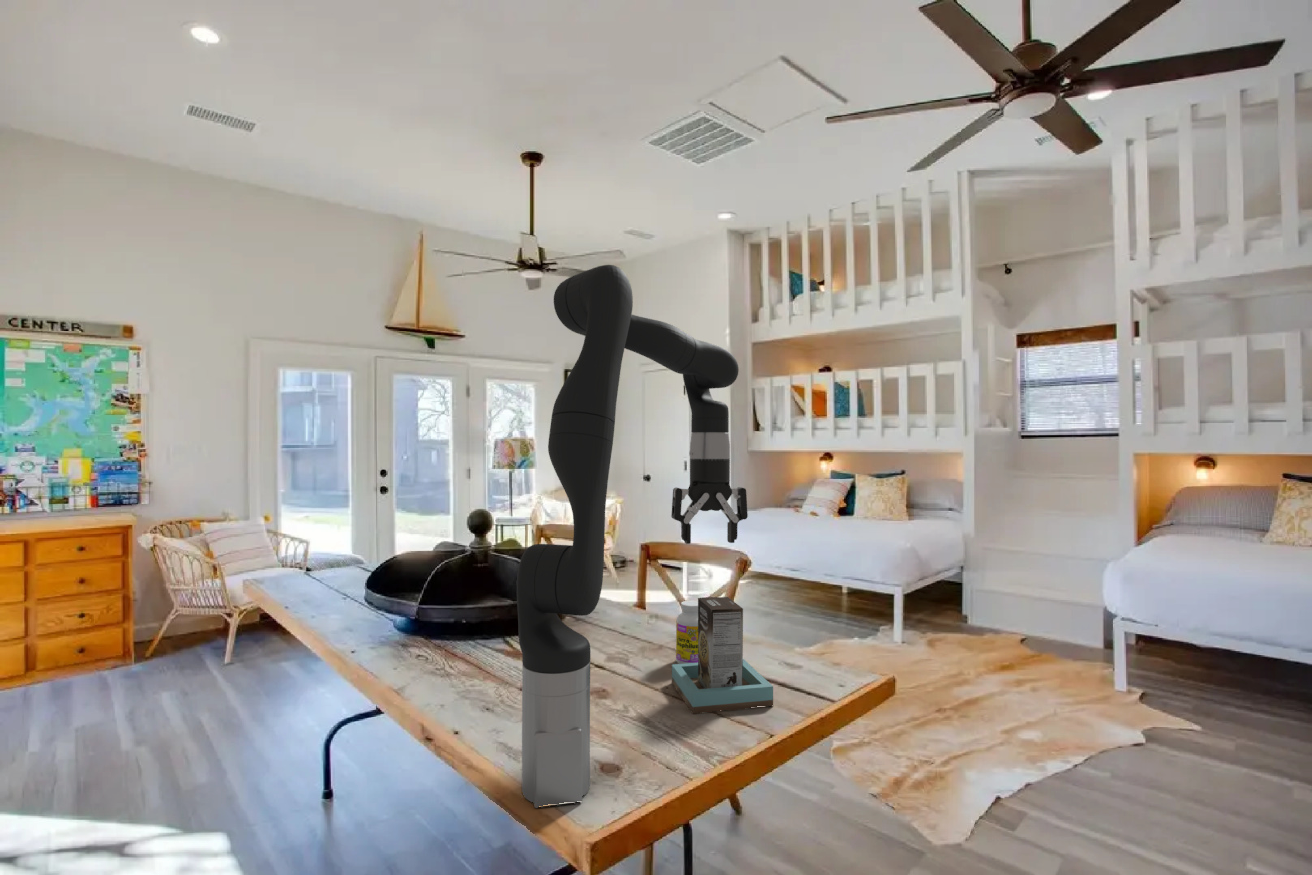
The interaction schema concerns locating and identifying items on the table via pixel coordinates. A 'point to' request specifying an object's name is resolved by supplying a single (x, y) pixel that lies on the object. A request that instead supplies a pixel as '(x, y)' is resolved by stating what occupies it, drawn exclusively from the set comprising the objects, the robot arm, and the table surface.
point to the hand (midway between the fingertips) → (709, 542)
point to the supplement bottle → (687, 633)
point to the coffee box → (720, 642)
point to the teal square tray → (721, 690)
